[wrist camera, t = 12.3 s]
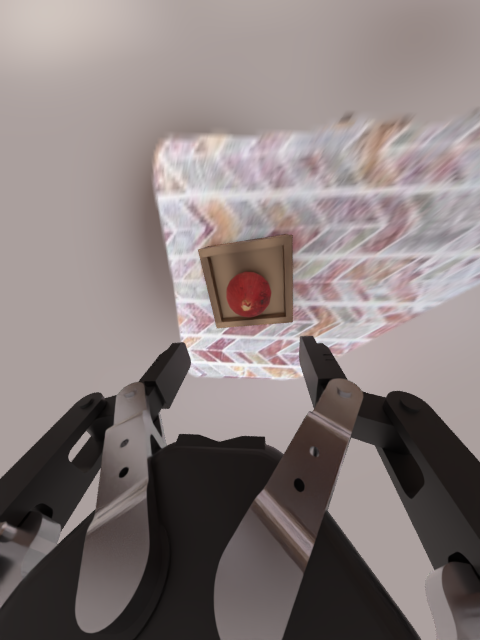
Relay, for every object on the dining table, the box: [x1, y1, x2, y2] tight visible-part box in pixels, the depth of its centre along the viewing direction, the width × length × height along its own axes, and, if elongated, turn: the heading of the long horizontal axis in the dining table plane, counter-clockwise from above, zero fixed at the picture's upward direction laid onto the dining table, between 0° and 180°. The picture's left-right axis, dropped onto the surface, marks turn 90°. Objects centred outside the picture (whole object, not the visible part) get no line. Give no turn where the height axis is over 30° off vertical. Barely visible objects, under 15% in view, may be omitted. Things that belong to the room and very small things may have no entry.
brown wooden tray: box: [198, 234, 293, 328], centre depth 26 cm, size 12×12×6 cm
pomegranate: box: [226, 272, 271, 317], centre depth 22 cm, size 6×6×8 cm
